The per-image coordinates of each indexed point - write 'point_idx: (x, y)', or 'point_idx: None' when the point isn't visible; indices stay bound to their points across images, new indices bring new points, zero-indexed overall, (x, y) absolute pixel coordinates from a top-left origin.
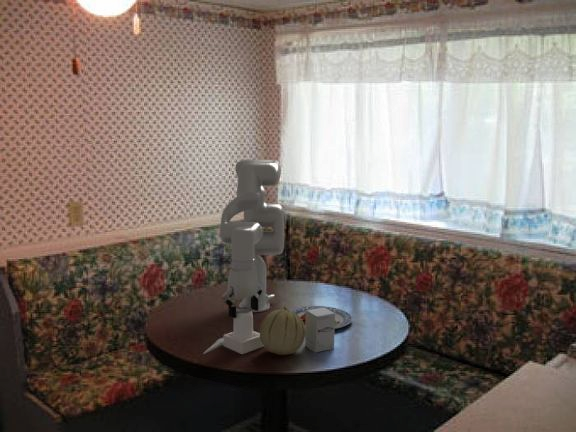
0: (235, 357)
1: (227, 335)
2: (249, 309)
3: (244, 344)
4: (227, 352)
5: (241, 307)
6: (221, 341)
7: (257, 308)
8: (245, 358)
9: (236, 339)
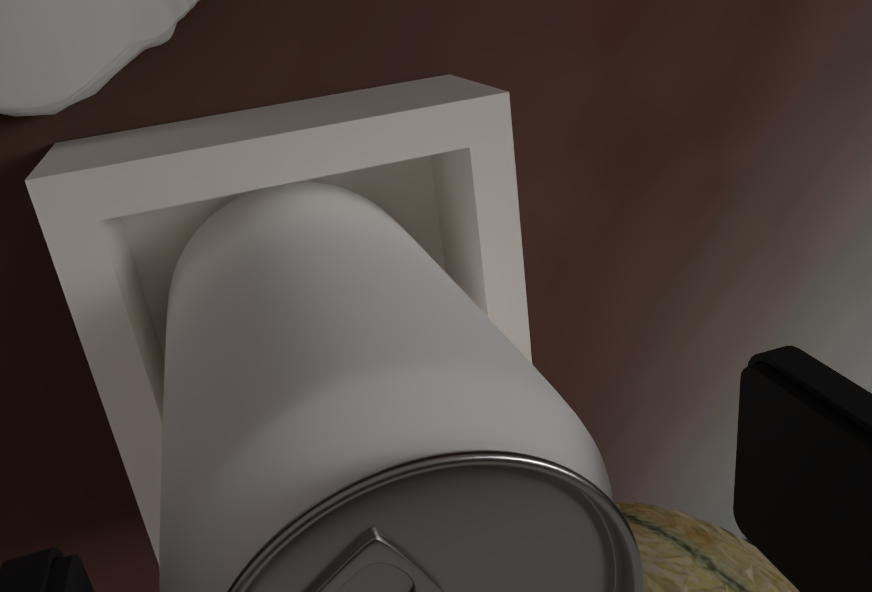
0: (51, 521)
1: (82, 244)
2: (614, 581)
3: None
4: (18, 357)
5: (520, 468)
6: (28, 103)
7: (783, 560)
8: (147, 580)
9: (143, 455)
